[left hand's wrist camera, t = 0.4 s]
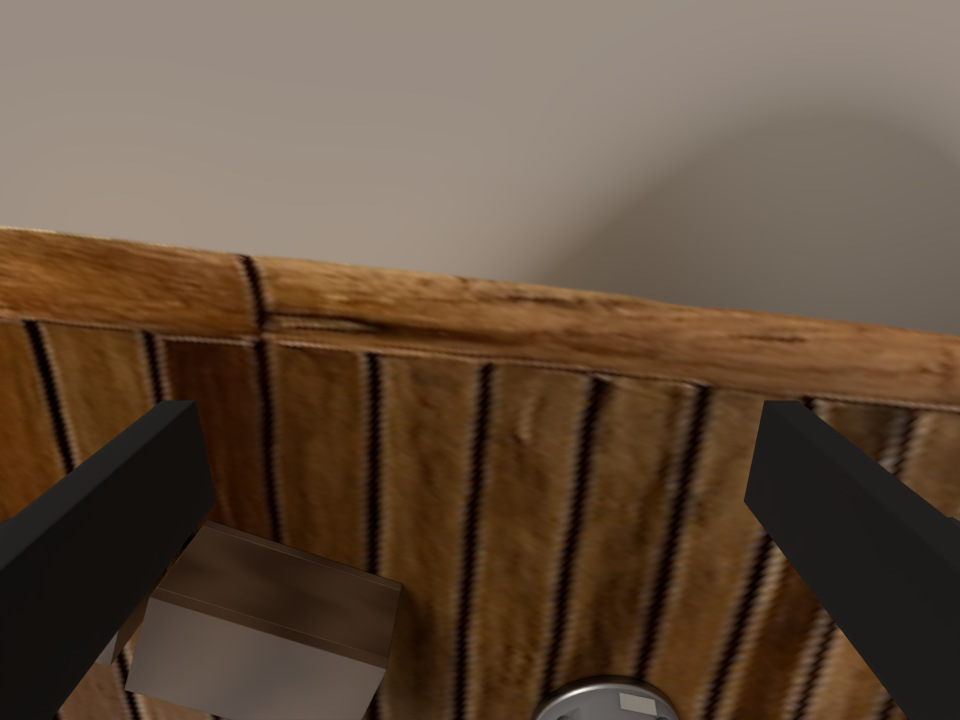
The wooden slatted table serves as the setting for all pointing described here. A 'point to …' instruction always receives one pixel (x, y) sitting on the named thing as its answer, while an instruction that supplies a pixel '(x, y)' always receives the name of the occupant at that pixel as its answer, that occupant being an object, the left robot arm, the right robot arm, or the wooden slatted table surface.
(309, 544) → the wooden slatted table surface
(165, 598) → the cabinet
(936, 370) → the wooden slatted table surface
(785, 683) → the wooden slatted table surface
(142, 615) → the drawer
